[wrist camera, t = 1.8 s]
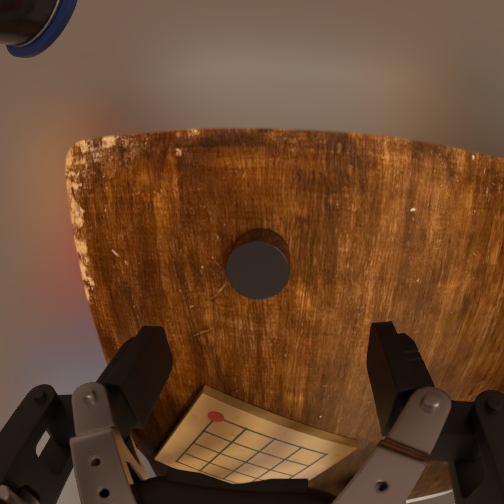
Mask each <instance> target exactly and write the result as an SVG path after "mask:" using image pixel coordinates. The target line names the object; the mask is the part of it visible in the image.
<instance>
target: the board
mask: <svg viewBox="0 0 504 504" xmlns="http://www.w3.org/2000/svg"><path fill="white" fill-rule="evenodd" d="M356 449H357V441H356V440H354V439H350V438H347V437H343V436H340V435H336V434H333V433H329V432H326V431H323V430H320V429H317V428H314V427H310V426H307V425H304V424H301V423H299V422H296V421H293V420H290V419H287V418H284V417H282V416H279V415H276V414H274V413H271V412H268V411H266V410H263V409H261V408H258V407H256V406H253V405H251V404H248V403H246V402H243V401H241V400H238V399H236V398H234V397H231V396H229V395H227V394H225V393H222V392H220V391H218V390H216V389H213V388H211V387H209V386H207V385H204V387H203V388H202V390H201V391H200V392H199V394H198V395H197V397H196V398H195V400H194V401H193V403H192V404H191V405H190V407H189V408H188V410H187V411H186V413H185V414H184V415H183V417H182V418H181V420H180V421H179V423H178V424H177V425H176V427H175V428H174V430H173V431H172V432H171V434H170V435H169V437H168V438H167V440H166V441H165V442H164V444H163V445H162V446H161V448H160V449H159V451H158V452H157V454H156V456H155V460H157V461H159V462H161V463H164V464H166V465H168V466H171V467H173V468H176V469H179V470H185V471H192V472H199V473H202V474H205V475H208V476H211V477H214V478H216V479H219V480H222V481H225V482H229V483H232V484H240V483H247V482H254V481H261V480H266V479H302V478H308V480H310V479H312V478H313V477H315V476H317V475H318V474H320V473H321V472H323V471H325V470H326V469H328V468H329V467H331V466H332V465H334V464H336V463H337V462H339V461H340V460H342V459H343V458H344V457H346V456H347V455H349V454H350V453H352V452H353V451H355V450H356Z"/></svg>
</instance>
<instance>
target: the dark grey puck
mask: <svg viewBox="0 0 504 504" xmlns="http://www.w3.org/2000/svg"><path fill="white" fill-rule="evenodd" d="M226 275H227V278H228V281H229V283H230V284H231V286H232V287H233V288H234V289H235V290H236V291H237V292H238V293H240V294H241V295H243V296H245V297H248V298H251V299H258V300H259V299H267V298H271V297H273V296H275V295H277V294H278V293H279V292H281V291H282V290H283V289H284V287H285V286H286V284H287V282H288V280H289V275H290V251H289V248H288V245H287V243H286V242H285V240H284V239H283V238H282V237H281V236H280V235H279V234H277V233H276V232H274V231H271V230H268V229H261V228H260V229H253V230H250V231H247V232H245V233H244V234H242V235H241V236H240V237H239V238H238V240H237V241H236V243H235V245H234V247H233V249H232V251H231V253H230V255H229V257H228V260H227V263H226Z"/></svg>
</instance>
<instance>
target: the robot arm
mask: <svg viewBox="0 0 504 504" xmlns="http://www.w3.org/2000/svg"><path fill="white" fill-rule="evenodd" d="M61 3H62V0H0V44H7V45H13V46H16V47H26V46H28V45H31V44H32V43H34V42H35V41H36V40H38V39H39V38H40V37H41V36H42V35H43V34H44V33H45V32H46V30H47V29H48V28H49V26H50V25H51V24H52V22H53V20H54V19H55V17H56V15H57V13H58V11H59V8H60V6H61ZM172 365H173V359H172V354H171V351H170V348H169V344H168V341H167V338H166V334H165V331H164V329H163V327H161V326H143V327H142V328H141V330H140V331H139V332H138V334H137V335H136V337H132V338H130V339H129V340H128V341H126V342H125V343H124V344H123V345H122V346H121V348H120V349H119V350H118V352H117V354H115V356H114V357H113V360H111V361H110V363H109V364H108V366H107V367H106V369H105V370H104V371H103V373H102V374H101V376H100V377H99V379H98V380H97V381H96V382H90V383H86V384H83V385H81V386H80V387H78V388H77V389H76V390H75V391H74V393H73V395H57V393H56V391H55V390H54V388H53V387H52V386H50V385H47V384H43V385H39V386H36V387H34V388H33V389H32V390H31V391H30V392H29V393H28V394H27V395H26V397H25V398H24V399H23V401H22V402H21V403H20V405H19V406H18V408H17V409H16V410H15V412H14V413H13V414H12V416H11V417H10V419H9V420H8V422H7V423H6V424H5V426H4V427H3V429H2V430H1V432H0V504H56V503H57V500H58V498H59V496H60V494H61V491H62V489H63V487H64V485H65V483H66V481H67V479H68V477H69V475H70V473H71V470H72V468H73V467H74V472H75V477H76V482H77V487H78V492H79V496H80V500H81V504H404V503H405V501H406V499H407V498H408V496H409V495H410V493H411V491H412V490H413V488H414V486H415V484H416V483H417V481H418V479H419V477H420V475H421V474H422V472H423V470H424V468H425V466H426V464H427V462H428V460H433V461H447V463H448V468H449V472H450V477H451V482H452V487H453V492H454V498H455V503H456V504H504V394H502V393H500V392H498V391H494V390H488V391H484V392H482V393H480V394H479V395H478V396H477V398H476V399H475V401H474V402H464V401H453V400H451V399H450V397H449V396H448V394H447V393H446V392H444V391H443V390H441V389H439V388H436V387H435V386H434V384H433V381H432V379H431V377H430V375H429V372H428V370H427V368H426V366H425V363H424V361H423V360H422V357H421V355H420V353H419V352H418V348H417V346H416V344H415V342H414V341H413V340H412V339H411V338H410V337H409V336H408V335H406V334H405V333H401V334H397V332H396V330H395V327H394V325H393V323H392V322H391V321H389V322H377V323H372V324H371V328H370V336H369V344H368V351H367V370H368V375H369V379H370V383H371V387H372V391H373V396H374V400H375V405H376V409H377V414H378V418H379V423H380V428H381V433H382V437H383V436H386V438H385V439H384V440H381V441H380V442H379V443H378V444H377V446H376V447H375V449H374V450H373V451H372V453H371V454H370V456H369V457H368V458H367V460H366V461H365V463H364V464H363V465H362V467H361V468H360V469H359V471H358V472H357V473H356V474H355V476H354V477H353V478H352V480H351V481H350V482H349V483H348V484H347V486H346V487H345V488H344V489H343V491H342V492H341V493H340V494H339V495H338V497H337V496H335V495H333V494H331V493H329V492H326V491H324V490H320V489H317V488H313V487H308V478H302V479H266V480H261V481H254V482H247V483H240V484H232V483H229V482H225V481H222V480H219V479H216V478H214V477H211V476H208V475H205V474H202V473H199V472H192V471H185V470H179V469H174V468H169V469H168V471H167V474H166V476H160V477H153V478H149V477H148V476H147V474H146V472H145V470H144V467H143V465H142V462H141V460H140V457H139V454H138V452H137V449H136V446H135V443H134V441H133V438H132V435H131V434H130V431H131V429H132V427H135V428H139V429H144V427H145V425H146V423H147V421H148V419H149V417H150V414H151V412H152V410H153V408H154V406H155V404H156V402H157V400H158V397H159V395H160V393H161V391H162V389H163V387H164V385H165V383H166V381H167V379H168V377H169V374H170V372H171V370H172ZM45 430H46V431H47V433H48V434H49V435H50V439H49V440H48V442H47V444H46V445H45V447H44V449H43V450H42V452H41V454H40V456H39V458H38V456H37V454H36V446H37V444H38V442H39V440H40V439H41V437H42V435H43V434H44V432H45Z"/></svg>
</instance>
